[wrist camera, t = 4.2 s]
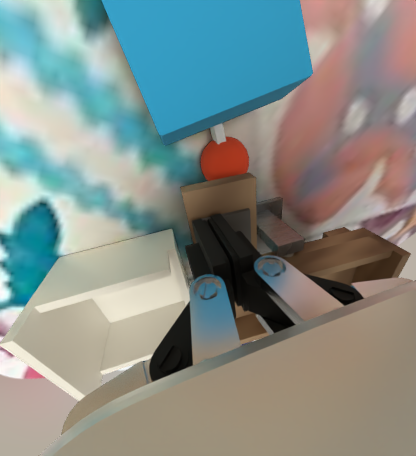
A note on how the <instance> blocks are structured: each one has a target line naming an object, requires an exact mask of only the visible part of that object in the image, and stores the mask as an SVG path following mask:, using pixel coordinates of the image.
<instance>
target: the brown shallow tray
mask: <svg viewBox="0 0 416 456" xmlns="http://www.w3.org/2000/svg"><path fill="white" fill-rule="evenodd" d="M180 188H181V192H182V197H183V201H184V205H185V209H186V214H187V218H188V222H189V226H190V231H191V235H192V239H193V243H194V244H195V243H196V239H195V235H194V230H193V226H192V220H196V219H200V218H201V219H202V220H206V222H207V223H208V219H210V216H211V215H215V214H219V213H220V214H221V215H222V216H223V217H224V219H225V220H226V221H227V222H228V224H229V225H230V226H231V227H232V229H233V230H234V231H235V232H237V231H241V232H242V233H243V234H244V235H245V237H246V238H247V239H248V240H249V241H250V242H251V244H252V245H253V246H254V247H255V248H256V249H257V216H256V177H255V176H253V175H252V174H250V173H244V174H239V175H235V176H230V177H225V178H221V179H216V180H211V181H207V182H202V183H197V184H192V185H188V186H183V187H180ZM261 255H262V256H267V255H273V256H276V255H275V254H274V253H273V252H269V253H265V254H261ZM409 256H410V253H409V252H407V251H405V250H403V249H402V248H400V247H398V246H396V245H394V244H392V243H391V242H389V241H387V240H385V239H383V238H381V237H380V236H378V235H376V234H374V233H372V232H370V231H369V230H367V229H365V228H361V229H357V230H353V231H350V230H348V229H347V228H345V227H343V228H339V229H335V230H331V231H328V232H324V233H323V237H322V239H319V240H315V241H311V242H307V243H304V247H303V250H302V251H298V252H295V253H292V254H288V255H285V256H282V257H281V258H282V259H284V260H286V261H287V262H288V263H290V264H291V265H292V266H293V267H295V268H296V269H297V270H299V271H300V272H301V273H303V274H308V275H312V276H316V277H320V278H324V279H328V280H333V281H337V282H341V283H344V284H347V285H349V286H350V285H351V283H356V282H364V281H372V280H380V279H388V278H398V276H399V275H400V273H401V271H402V269H403V267H404V266H405V263H406V262H407V260H408V258H409ZM235 309H236V318H235V324H236V328H237V332H238V335H239V339H240V343H241V344H244V343H247V342H250V341H254V340H257V339H260V338H264V337H266V336H269V334H268V332H267V331H266V330H265V328H264V327H263V326H262V324H261V323H260V322H259V320H258V319H257V317H256V314H255V313H252V312H250V311H249V310H248V311H246V312H244V310H243V308H242V306H239V307H238V306H237V304H236V302H235Z"/></svg>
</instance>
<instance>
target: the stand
mask: <svg viewBox="0 0 416 456" xmlns="http://www.w3.org/2000/svg"><path fill="white" fill-rule="evenodd" d="M282 201H283V198H281V197H278V198H274V199H270V200H266V201H262V202H258V203H256V216H257V251H258V252H259V253H260V254H265V253H269V252H273V253H274V254H275V255H276V256H278V257H282V256H285V255H288V254H292V253H295V252H298V251H302V250H303V247H304V241H305V239H304V238H303V237H302V236H301V235H299V234H298V233H297V232H295V231H294V230H293V229H292V228H290V227H289V226H288V225H287V224H285V223H284V222H283V221H282V220H281V217H282Z"/></svg>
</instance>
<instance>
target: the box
mask: <svg viewBox="0 0 416 456" xmlns="http://www.w3.org/2000/svg"><path fill="white" fill-rule="evenodd" d="M189 290H190V288H189V284H188V281H187V278H186V274H185V271H184V267H183V264H182V261H181V257H180V254H179V251H178V247H177V244H176V240H175V237H174V234H173V230H172V229H168V230H164V231H160V232H156V233H152V234H148V235H144V236H141V237H137V238H133V239H129V240H125V241H121V242H117V243H113V244H109V245H105V246H101V247H97V248H93V249H90V250H86V251H82V252H78V253H74V254H70V255H66V256H62V257H59V258H58V260H57V261H56V263H55V264H54V266H53V267H52V269H51V270H50V271H49V273H48V274H47V276H46V277H45V279H44V280H43V282H42V283H41V285H40V286H39V287H38V289H37V290H36V292H35V293H34V295H33V296H32V298H31V299H30V301H29V302H28V303H27V305H26V306H25V308H24V309H23V311H22V312H21V314H20V315H19V317H18V318H17V319H16V321H15V322H14V324H13V325H12V327H11V328H10V330H9V331H8V333H7V334H6V335H5V337H4V338H3V340H2V341H1V343H0V346H2V347H3V348H4V349H6V350H7V351H9V352H10V353H11V354H13V355H14V356H16V357H17V358H19V359H20V360H21V361H23V362H24V363H26V364H27V365H28V366H30V367H31V368H33V369H34V370H36V371H37V372H38V373H40V374H41V375H43V376H44V377H45V378H47V379H48V380H50V381H51V382H53V383H54V384H55V385H57V386H58V387H60V388H61V389H63V390H64V391H65V392H67V393H68V394H70V395H71V396H72V397H74V398H75V399H77V400H78V401H80V400H81V399H82V398H84V397H85V396H86V395H88V394H89V393H91V392H93V391H94V390H96V389H97V388H99V387H101V383H102V378H103V375H104V374H107V373H110V372H113V371H116V370H119V369H121V368H124V367H127V366H130V365H133V364H136V363H139V362H140V361H145V360H148V359H150V358H151V357H152V355H153V353H154V352H155V350H156V348H157V347H158V346H159V344H160V343H161V341H162V340H163V338H164V337H165V336H166V334H167V333H168V331H169V330H170V328H171V327H172V325H173V324H174V323H175V321H176V320H177V318H178V317H179V315H180V314H181V313H182V311H183V310H184V308H185V307H186V305H187V304H188V302H189V301H190V295H189Z"/></svg>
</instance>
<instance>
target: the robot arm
mask: <svg viewBox="0 0 416 456" xmlns="http://www.w3.org/2000/svg"><path fill="white" fill-rule="evenodd" d="M192 226H193V230H194V235H195V239H196V243H195V244H191V245H188V246H185V249H186V253H187V257H188V260H189V264H190V267H191V271H192V274H193V278H194V281H193V282H192V284H191V286H190V290H189V295H190V301H189V302H188V304H187V305H186V307H185V308H184V310H183V311H182V313H181V314H180V315H179V317H178V318H177V320H176V321H175V323H174V324H173V325H172V327H171V328H170V330H169V331H168V333H167V334H166V336H165V337H164V338H163V340H162V341H161V343H160V344H159V346H158V347H157V348H156V350H155V352H154V353H153V355H152V357H151V358H150V359H149V360H147V361H146V362H144V363H143V362H142V361H140V362H139V363H137V364H136V365H134V366H132V367H131V368H129V369H128V370H126V371H124V372H123V373H121V374H120V375H118V376H117V377H115V378H114V379H112V380H110V381H109V382H107V383H105V384H104V385H102V386H101V387H99V388H97V389H96V390H94V391H93V392H91V393H89V394H88V395H86V396H85V397H84V398H82V399H81V400H80V401H79V402H78V403H77V404H76V405H75V406H74V408H73V409H72V410H71V411H70V413H69V415H68V417H67V419H66V421H65V423H64V425H63V429H62V434H61V436H60V437H59V438H57V440H56V441H54V442H53V443H52V444H51V445H50V446H49V447H47V448H46V449H45V450H44V451H43V452H42V453H41V454H40V455H39V456H416V280H415V281H412V280H410V279H405V278H388V279H380V280H372V281H364V282H356V283H351V285H350V286H349V285H347V284H344V283H341V282H337V281H333V280H328V279H324V278H320V277H316V276H312V275H308V274H303V273H301V272H300V271H299V270H297V269H296V268H295V267H293V266H292V265H291V264H290V263H288V262H287V261H286V260H284V259H282V258H281V257H278V256H273V255H267V256H262V255H261V254H260V253H259V252H258V251H257V249H256V248H255V247H254V246H253V245H252V244H251V242H250V241H249V240H248V239H247V238H246V237H245V235H244V234H243V233H242V232H241V231H237V232H235V231H234V230H233V229H232V227H231V226H230V225H229V224H228V222H227V221H226V220H225V219H224V217H223V216H222V215H221V214H220V213H219V214H215V215H211V216H210V219H208V223H207V222H206V220H202V219H201V218H200V219H196V220H192ZM235 302H236V304H237V306H238V307H239V306H242V308H243V310H244V312H246V311H248V310H249V311H250V312H252V313H255V314H256V317H257V319H258V320H259V322H260V323H261V324H262V326H263V327H264V328H265V330H266V331H267V332H268V334H269V336H266V337H264V338H261V339H259V340H256V341H254V342H251V343H248V344H246V345H243V346H241V343H240V339H239V335H238V332H237V328H236V324H235V318H236V309H235Z"/></svg>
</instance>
